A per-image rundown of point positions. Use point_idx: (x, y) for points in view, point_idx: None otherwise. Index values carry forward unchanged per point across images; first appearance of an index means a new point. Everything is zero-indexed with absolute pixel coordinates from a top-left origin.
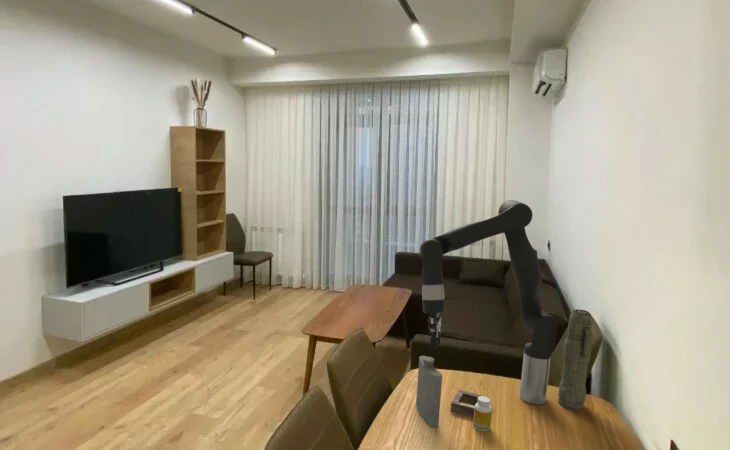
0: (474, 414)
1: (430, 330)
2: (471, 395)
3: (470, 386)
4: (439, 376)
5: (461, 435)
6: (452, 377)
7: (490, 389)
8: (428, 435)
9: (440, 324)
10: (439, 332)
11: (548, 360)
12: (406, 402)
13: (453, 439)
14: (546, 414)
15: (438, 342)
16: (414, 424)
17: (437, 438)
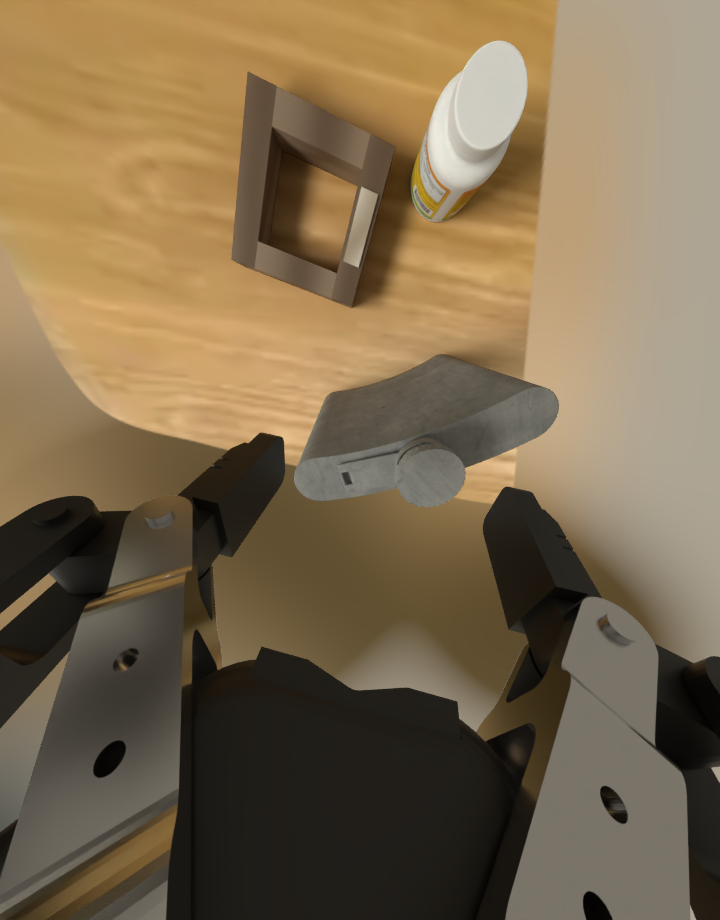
0: (456, 203)
1: (695, 818)
2: (263, 195)
3: (119, 189)
4: (557, 404)
5: (490, 279)
6: (83, 278)
7: (87, 52)
8: None
9: (174, 703)
10: (194, 513)
11: None
12: None
13: (510, 310)
14: None
15: (275, 456)
16: None
17: (502, 359)
